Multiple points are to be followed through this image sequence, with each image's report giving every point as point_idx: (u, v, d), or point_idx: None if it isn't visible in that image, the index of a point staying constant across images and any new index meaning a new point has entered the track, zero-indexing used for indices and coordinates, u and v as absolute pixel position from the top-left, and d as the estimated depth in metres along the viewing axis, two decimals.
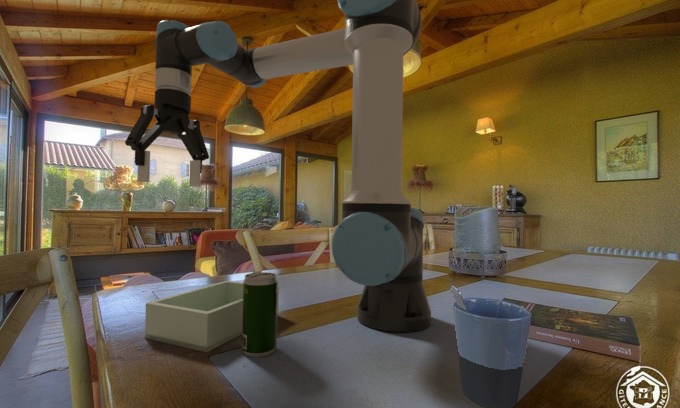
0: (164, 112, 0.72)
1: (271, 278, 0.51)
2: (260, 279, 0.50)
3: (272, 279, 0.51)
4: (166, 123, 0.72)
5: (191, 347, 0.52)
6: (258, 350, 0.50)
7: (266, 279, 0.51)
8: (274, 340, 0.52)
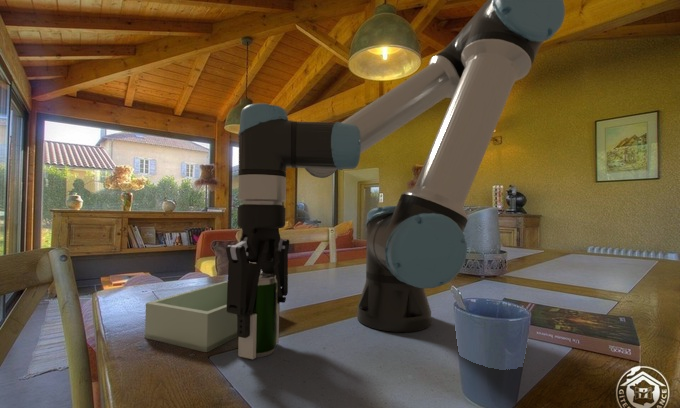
0: (254, 240, 0.49)
1: (271, 278, 0.51)
2: (260, 279, 0.50)
3: (272, 279, 0.51)
4: (261, 259, 0.50)
5: (191, 347, 0.52)
6: (258, 350, 0.50)
7: (266, 279, 0.51)
8: (274, 340, 0.52)
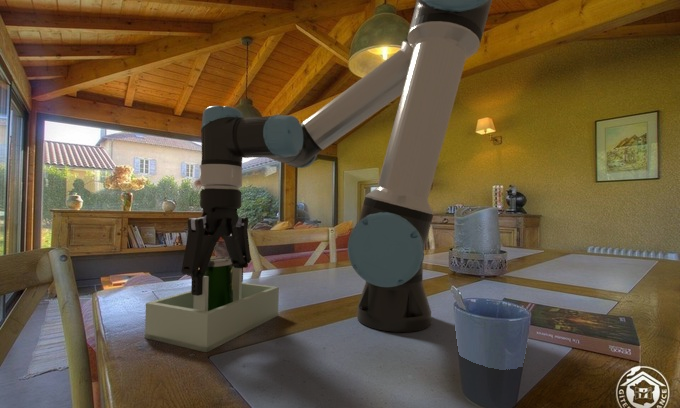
0: (213, 217, 0.60)
1: (226, 260, 0.62)
2: (216, 261, 0.61)
3: (227, 261, 0.62)
4: (217, 233, 0.61)
5: (191, 347, 0.52)
6: None
7: (221, 261, 0.61)
8: None
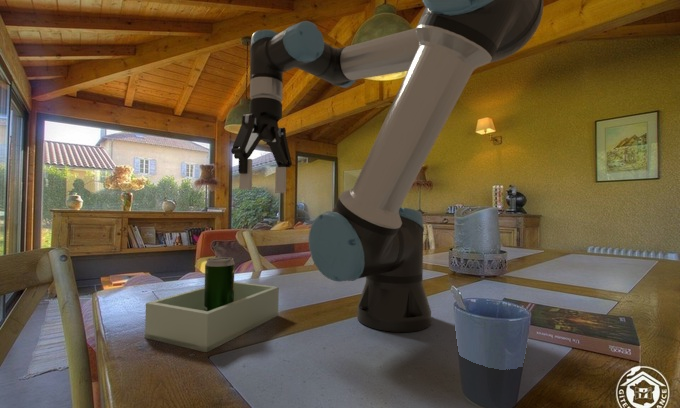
0: (261, 120, 0.74)
1: (228, 261, 0.62)
2: (218, 261, 0.61)
3: (229, 262, 0.62)
4: (263, 131, 0.73)
5: (191, 347, 0.52)
6: None
7: (223, 261, 0.61)
8: None
